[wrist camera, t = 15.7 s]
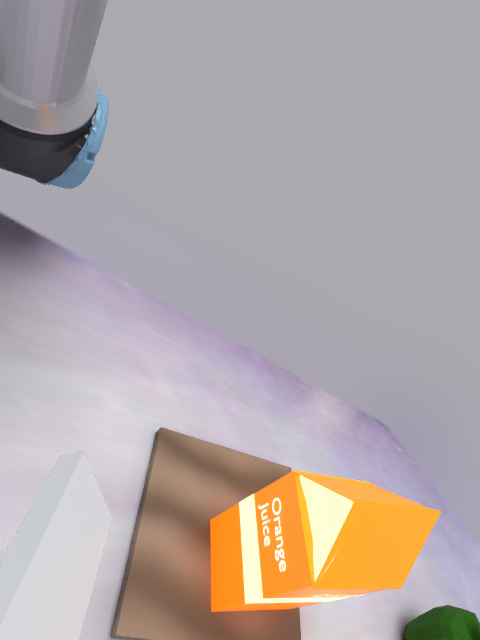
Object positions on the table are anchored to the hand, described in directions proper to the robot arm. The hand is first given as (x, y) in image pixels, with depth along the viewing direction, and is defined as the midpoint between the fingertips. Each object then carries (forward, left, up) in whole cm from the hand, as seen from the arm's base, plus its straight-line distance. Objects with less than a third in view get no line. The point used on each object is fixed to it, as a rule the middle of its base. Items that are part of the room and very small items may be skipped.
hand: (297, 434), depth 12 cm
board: (-6, +13, -31) cm, 34 cm away
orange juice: (-4, +16, -29) cm, 33 cm away
